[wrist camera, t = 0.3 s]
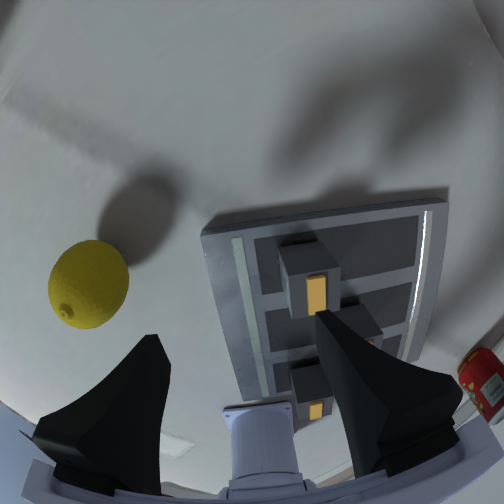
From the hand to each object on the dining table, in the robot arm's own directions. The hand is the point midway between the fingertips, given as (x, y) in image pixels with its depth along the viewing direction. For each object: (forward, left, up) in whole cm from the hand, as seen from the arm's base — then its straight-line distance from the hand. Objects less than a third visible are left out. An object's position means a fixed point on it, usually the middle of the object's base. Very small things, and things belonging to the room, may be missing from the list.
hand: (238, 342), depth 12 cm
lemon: (+1, +10, -10) cm, 14 cm away
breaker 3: (-7, -8, -8) cm, 13 cm away
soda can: (-24, -32, -10) cm, 41 cm away
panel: (-7, -8, -10) cm, 14 cm away
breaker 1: (-1, -4, -8) cm, 9 cm away
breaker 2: (-13, -4, -8) cm, 15 cm away
